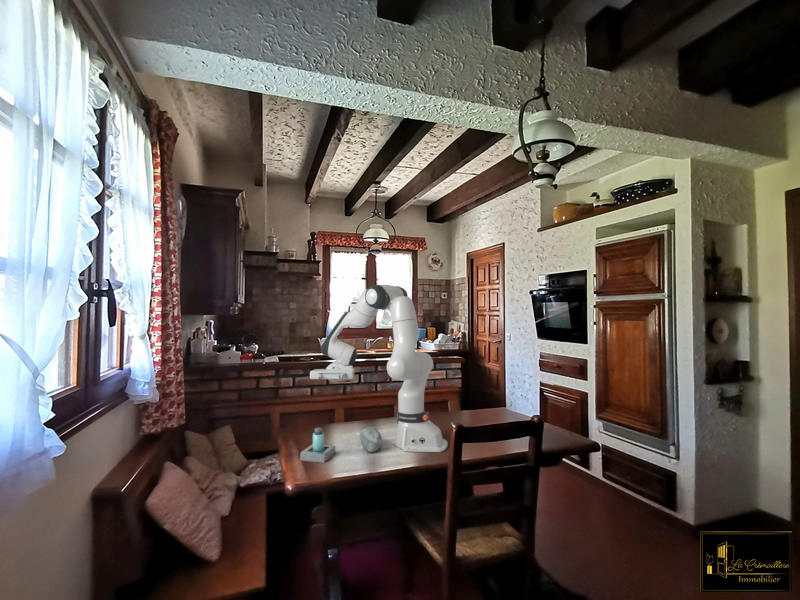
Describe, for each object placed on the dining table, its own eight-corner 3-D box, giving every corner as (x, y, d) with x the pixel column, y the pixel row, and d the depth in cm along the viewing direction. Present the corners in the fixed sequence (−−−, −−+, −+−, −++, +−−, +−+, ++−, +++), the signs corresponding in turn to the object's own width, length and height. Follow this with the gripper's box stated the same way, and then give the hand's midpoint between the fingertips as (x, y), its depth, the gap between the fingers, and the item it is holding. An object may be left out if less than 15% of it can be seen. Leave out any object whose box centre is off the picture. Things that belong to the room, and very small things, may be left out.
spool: (355, 435, 169) (366, 416, 168) (374, 444, 171) (385, 425, 169) (354, 454, 156) (366, 434, 154) (375, 463, 157) (387, 443, 156)
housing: (335, 453, 157) (335, 445, 157) (324, 462, 147) (324, 454, 147) (312, 451, 160) (312, 443, 160) (300, 460, 150) (300, 452, 150)
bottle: (326, 455, 155) (326, 427, 155) (321, 459, 151) (321, 430, 151) (315, 454, 156) (316, 426, 156) (310, 458, 152) (310, 429, 152)
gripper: (313, 365, 187) (306, 370, 173) (356, 365, 187) (352, 369, 173) (313, 378, 187) (306, 384, 173) (356, 378, 186) (352, 384, 173)
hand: (329, 377), depth 173 cm, fingers open, 8 cm apart
